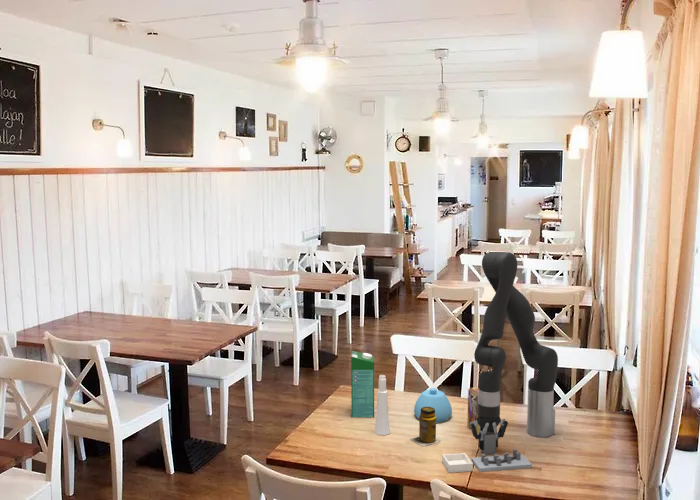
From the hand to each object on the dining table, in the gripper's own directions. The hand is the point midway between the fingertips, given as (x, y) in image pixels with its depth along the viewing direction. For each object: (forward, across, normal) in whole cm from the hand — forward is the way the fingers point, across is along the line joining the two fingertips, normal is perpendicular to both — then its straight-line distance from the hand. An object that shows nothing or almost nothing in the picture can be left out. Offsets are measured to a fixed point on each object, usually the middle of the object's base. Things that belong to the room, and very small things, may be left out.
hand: (488, 448), depth 234 cm
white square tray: (+1, +14, +9) cm, 17 cm away
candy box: (+1, -3, -19) cm, 19 cm away
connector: (+1, 0, 0) cm, 1 cm away
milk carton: (+1, +37, -43) cm, 57 cm away
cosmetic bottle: (+1, +33, -23) cm, 40 cm away
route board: (+1, -1, +10) cm, 10 cm away
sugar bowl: (+2, +10, -35) cm, 36 cm away
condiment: (+1, +19, -13) cm, 23 cm away
